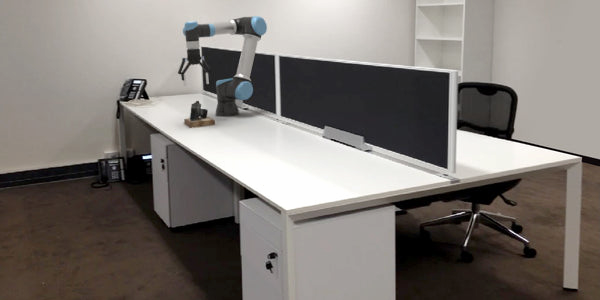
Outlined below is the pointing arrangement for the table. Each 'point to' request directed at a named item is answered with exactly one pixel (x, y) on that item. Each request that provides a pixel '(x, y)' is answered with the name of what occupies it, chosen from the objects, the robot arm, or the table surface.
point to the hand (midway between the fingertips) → (196, 84)
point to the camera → (197, 111)
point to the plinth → (199, 122)
